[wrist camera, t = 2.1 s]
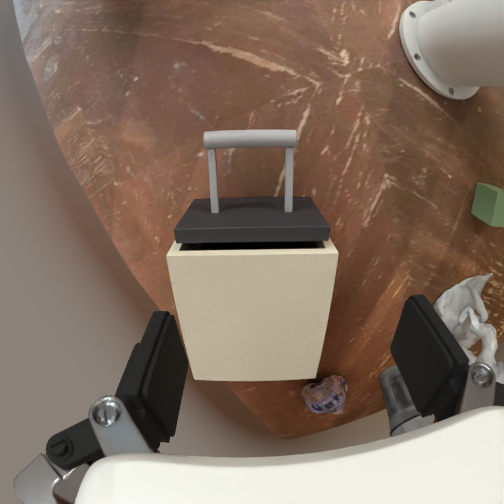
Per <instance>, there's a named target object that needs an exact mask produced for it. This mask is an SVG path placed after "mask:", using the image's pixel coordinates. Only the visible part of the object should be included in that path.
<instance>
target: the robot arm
mask: <svg viewBox="0 0 504 504" xmlns="http://www.w3.org/2000/svg"><path fill="white" fill-rule="evenodd" d="M399 31H400V39H401V42H402V46H403V49H404V51H405V54H406V56H407V58H408V60H409V62H410V64H411V66H412V67H413V69H414V70H415V71H416V73H417V74H418V76H419V77H420V78H421V79H422V80H423V81H424V82H425V83H426V84H427V85H428V86H429V87H430V88H431V89H433V90H434V91H435V92H437V93H439V94H440V95H442V96H445V97H447V98H451V99H467V98H470V97H471V96H473V95H474V94H475V93H476V92H477V91H478V89H479V88H480V87H500V88H504V0H450V2H449V1H447V0H435V1H433V2H429V1H421V2H416V3H414V4H412V5H410V6H409V7H408V8H406V9H405V11H404V12H403V14H402V16H401V19H400V26H399ZM390 349H391V354H392V356H393V358H394V360H395V362H396V364H397V367H398V369H399V371H400V373H401V375H402V378H403V380H404V382H405V384H406V387H407V389H408V391H409V394H410V396H411V398H412V401H413V403H414V406H415V408H416V410H417V412H420V413H421V416H422V418H424V417H427V416H430V415H432V414H434V416H435V420H434V423H433V424H431V425H428V426H425V427H422V428H420V429H417V430H414V431H410V432H407V433H404V434H401V435H397V436H394V437H390V438H387V439H383V440H379V441H375V442H371V443H366V444H362V445H357V446H352V447H347V448H342V449H336V450H331V451H323V452H316V453H309V454H299V455H288V456H275V457H254V458H253V457H251V458H250V457H249V458H233V457H202V456H188V455H176V454H163V453H160V451H159V450H158V448H159V446H160V442H167V443H169V440H170V436H172V437H173V436H174V435H175V431H176V425H177V420H178V415H179V410H180V404H181V399H182V394H183V389H184V384H185V379H186V375H187V370H188V360H187V357H186V354H185V351H184V347H183V345H182V341H181V337H180V334H179V331H178V327H177V324H176V320H175V317H174V315H170V313H169V312H168V311H155V312H154V313H153V314H152V317H151V319H150V321H149V324H148V326H147V328H146V331H145V333H144V335H143V338H142V340H141V343H137V344H136V345H135V347H134V349H133V351H132V353H131V356H130V358H129V361H128V363H127V366H126V368H125V371H124V373H123V376H122V378H121V381H120V383H119V386H118V388H117V391H116V394H115V396H104V397H100V398H99V399H97V400H95V401H94V402H93V404H92V405H91V407H90V409H89V414H88V415H89V418H87V419H85V420H83V421H81V422H79V423H77V424H75V425H74V426H71V427H69V428H68V429H65V430H63V431H61V432H59V433H57V434H55V435H54V436H52V437H51V438H50V439H49V441H48V443H47V445H46V453H45V454H44V455H43V454H42V453H41V454H40V455H39V456H37V457H36V458H35V459H34V460H33V461H32V462H31V463H30V464H29V465H28V466H27V467H26V468H24V469H23V470H22V471H21V472H20V473H19V474H18V475H17V476H16V478H15V480H14V489H15V492H16V494H17V495H18V497H19V498H20V500H21V501H22V503H23V504H504V384H502V383H499V382H497V381H496V375H495V373H494V371H493V369H492V368H491V367H490V366H489V365H487V364H485V363H483V362H475V363H473V364H472V365H471V366H470V365H469V364H468V363H469V361H470V360H469V358H468V357H467V355H466V354H465V352H464V351H463V349H462V348H461V346H460V345H459V343H458V342H457V340H456V339H455V337H454V336H453V334H452V333H451V332H450V330H449V329H448V327H447V326H446V324H445V323H444V322H443V320H442V319H441V318H440V316H439V315H438V313H437V312H436V311H435V309H434V308H433V307H432V305H431V304H430V303H429V302H428V300H427V299H426V298H425V296H424V295H422V294H420V295H413V296H410V297H409V298H408V300H406V301H405V304H404V307H403V311H402V314H401V317H400V320H399V323H398V326H397V329H396V332H395V335H394V338H393V341H392V343H391V348H390ZM75 498H76V501H75Z"/></svg>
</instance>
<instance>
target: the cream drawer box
mask: <svg viewBox="0 0 504 504" xmlns="http://www.w3.org/2000/svg"><path fill="white" fill-rule="evenodd" d="M311 242H312V245H313V247H314V249H265V250H204V251H191V249H192V247H193V245H194V243H180V244H177V243H176V241H175V242H174V243H173V245H172V247H171V248H170V250H169V252H168V254H167V255H166V258H167V263H168V269H169V274H170V279H171V284H172V289H173V294H174V299H175V304H176V308H177V313H178V317H179V322H180V326H181V330H182V334H183V338H184V342H185V346H186V350H187V354H188V358H189V362H190V366H191V369H192V373H193V376H194V379H195V380H214V381H275V380H296V379H310V378H316V374H317V369H318V365H319V361H320V356H321V352H322V347H323V342H324V338H325V333H326V327H327V322H328V317H329V312H330V306H331V300H332V294H333V288H334V282H335V275H336V269H337V262H338V254H339V253H338V251H337V249H336V248H335V246H334V244H333V243H332V241H331V239H330V238H329V241H311Z"/></svg>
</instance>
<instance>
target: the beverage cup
mask: <svg viewBox="0 0 504 504" xmlns="http://www.w3.org/2000/svg"><path fill="white" fill-rule="evenodd" d="M379 378H380V382H381V388H382V392H383V396H384V400H385V404H386V408H387V412H388V416H389V421H390V422H389V424H390V436H391V437H394V436H397V435H401V434H404V433H407V432H410V431H414V430H417V429H420V428H422V427H425V426H428V425H431V424H432V417H431V415H430V416H427V417H424V418H422V416H421V413H420V412H417V410H416V408H415V406H414V403H413V401H412V398H411V396H410V394H409V391H408V389H407V387H406V384H405V382H404V380H403V378H402V375H401V373H400V371H399V369H398V367H397V366H392V367H390V368H388V369H386V370H385V371H383V372H382V374H381V375H380V377H379Z"/></svg>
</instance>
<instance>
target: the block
mask: <svg viewBox="0 0 504 504" xmlns="http://www.w3.org/2000/svg"><path fill="white" fill-rule="evenodd" d="M471 214H472V215H474V216H476V217H477V218H479V219H480V220H482V221H483V222H485V223H487V224H488V225H490V226H495V227H504V190H503V189H501V188H498V187H496V186H494V185H489V184H484V183H480V182H476V188H475V194H474V199H473V205H472V210H471Z"/></svg>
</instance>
